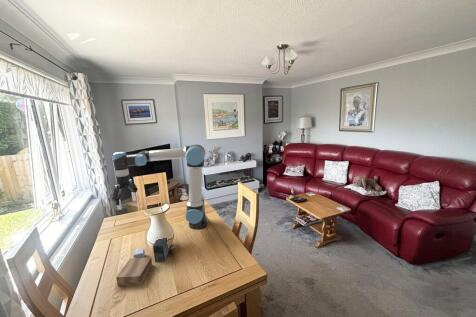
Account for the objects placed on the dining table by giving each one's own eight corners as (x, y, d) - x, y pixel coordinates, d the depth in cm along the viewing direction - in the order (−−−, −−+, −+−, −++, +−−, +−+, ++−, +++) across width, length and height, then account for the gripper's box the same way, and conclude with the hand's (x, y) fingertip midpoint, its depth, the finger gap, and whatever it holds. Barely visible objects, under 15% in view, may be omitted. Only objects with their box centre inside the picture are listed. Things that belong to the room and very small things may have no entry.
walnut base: (152, 264, 115) (151, 257, 114) (141, 284, 101) (139, 276, 100) (131, 265, 115) (130, 258, 114) (117, 285, 101) (116, 277, 100)
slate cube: (145, 255, 124) (144, 248, 123) (143, 260, 119) (142, 253, 118) (136, 256, 123) (135, 249, 122) (134, 262, 118) (133, 254, 117)
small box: (159, 250, 128) (157, 235, 126) (169, 249, 128) (168, 234, 126) (154, 261, 118) (152, 246, 115) (165, 260, 118) (163, 245, 116)
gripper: (131, 170, 145) (135, 197, 149) (101, 180, 121) (107, 212, 125) (140, 170, 143) (144, 198, 148) (111, 181, 120) (117, 213, 124)
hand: (127, 204), depth 136 cm, fingers open, 13 cm apart
